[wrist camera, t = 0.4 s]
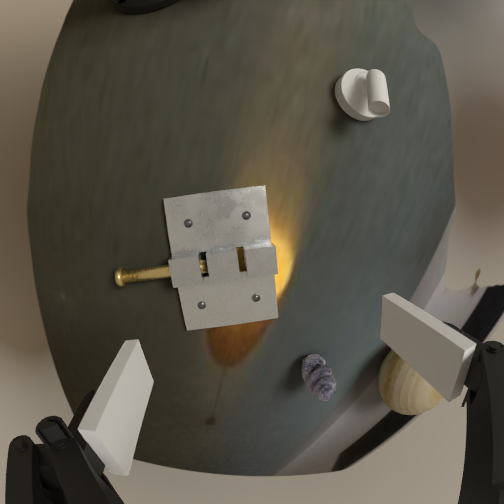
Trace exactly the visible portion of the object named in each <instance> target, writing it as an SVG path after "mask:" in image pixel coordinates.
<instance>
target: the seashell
mask: <svg viewBox="0 0 504 504" xmlns="http://www.w3.org/2000/svg"><path fill="white" fill-rule="evenodd" d="M322 365H325V360H324V359H323V358H322V357H321V356H319V355H317V354H312V355H308V356H307V357H305V359H303V364H302V369H301V371H302V378H303V379H304V382H305V383H306V385H307V387H308V391H309V392H310V393H311V394H312V395H314V396H316V397H318V398H319V399H320V400H323V401H326V402H327V401H329V399H330V398H331V396H332V395H333V394H334V393H335V390H336V389H335V386H336V379H335V378H334V377H333V376H332V375H331V367H329V366H322ZM314 366H316V368H317V369H315V370H314Z"/></svg>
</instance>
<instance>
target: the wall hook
mask: <svg viewBox="0 0 504 504" xmlns="http://www.w3.org/2000/svg"><path fill="white" fill-rule="evenodd" d="M335 96H336V99H337V101H338V103H339V105H340V107H341V108H342V109H343V110H344V111H345V112H346V113H347V114H348V115H349V116H351V117H352V118H354V119H357V120H361V121H368V120H372V119H374V118H376V117H384V116H386V115H388V114H389V112H390V106H389V98H388V91H387V84H386V79H385V76H384V74H383V73H382V72H381V71H380V70H377V69H372V70H370V71H366V70H363V69H352V70H349V71H347V72H346V73H345V74H344V75H343V76H342V77H340V78H339V79H338V81H337V83H336V85H335Z"/></svg>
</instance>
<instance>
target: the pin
mask: <svg viewBox="0 0 504 504" xmlns="http://www.w3.org/2000/svg"><path fill="white" fill-rule="evenodd" d="M199 261H200V268H201V273H209V272H208V266H207V259H206V260H199ZM170 277H171V273H170V268H169V265H161V266H154V267H146V268H139V269H131V270H125V269H124V268H123V267H120V268H116V270H115V280H116V283H117V285H118V287H125V286H126V285H127V283H130V282H139V281H147V280H155V279H163V278H170Z"/></svg>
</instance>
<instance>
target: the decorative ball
mask: <svg viewBox="0 0 504 504" xmlns="http://www.w3.org/2000/svg"><path fill="white" fill-rule="evenodd" d="M378 386H379V391H380V394H381V397H382V399H383V400H384V402H385V403H386V404H387V406H389V407H390V408H391V409H392V410H394V411H396V412H398V413H401V414H407V415H415V414H421V413H423V412H426V411H428V410H430V409H432V408H433V407H434V406H436V405H437V404H438V403H439V402H440V401H441V400H442V399H443V398H444V397H443V396H442V395H441V394H440V393H439V392H437V391H436V390H435V389H434V388H433V387H432V386H431V385H430V384H429V383H428V382H427V381H426V380H425V379H424V378H423V377H422V376H421V375H419V374H418V373H417V372H416V371H415V370H414V369H413V368H412V367H411V366H410V365H409V364H408V363H407V362H405V361H404V360H403V359H402V358H401V357H400V356H399V355H398V354H397V353H396V352H395V351H394V350H391V351H390V352H389V353H388V355H387V356H386V358H385V359H384V361H383V363H382V365H381V368H380V371H379V377H378Z"/></svg>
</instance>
